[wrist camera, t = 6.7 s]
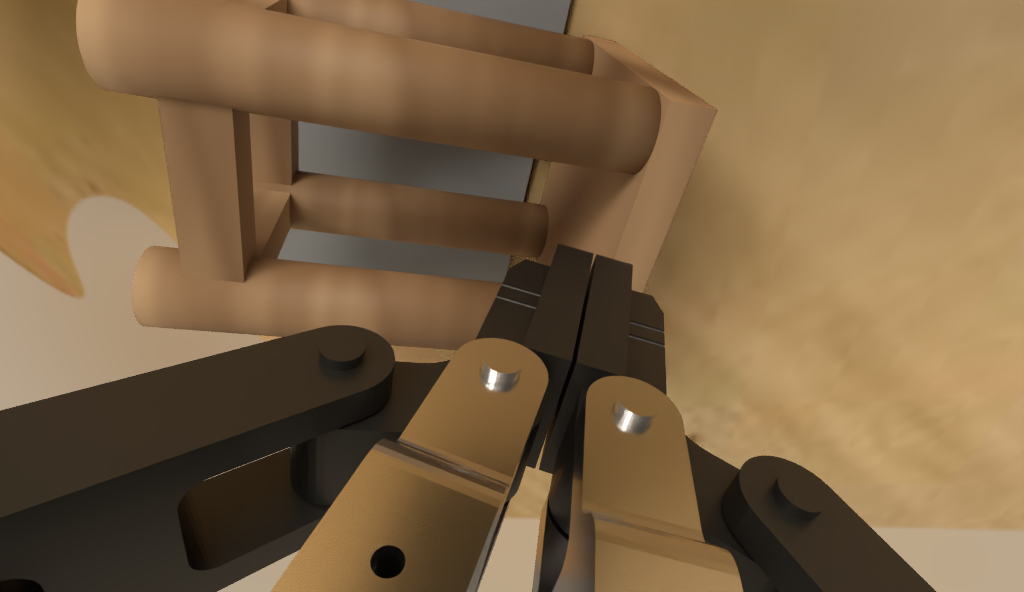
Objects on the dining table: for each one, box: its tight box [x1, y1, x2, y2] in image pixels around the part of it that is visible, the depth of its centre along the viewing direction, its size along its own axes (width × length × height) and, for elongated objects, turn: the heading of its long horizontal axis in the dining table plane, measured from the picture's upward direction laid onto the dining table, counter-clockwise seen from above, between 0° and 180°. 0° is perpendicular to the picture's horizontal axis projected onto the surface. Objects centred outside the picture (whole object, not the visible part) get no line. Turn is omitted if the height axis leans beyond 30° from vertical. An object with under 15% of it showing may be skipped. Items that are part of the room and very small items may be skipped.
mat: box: [277, 0, 572, 283], centre depth 19 cm, size 14×16×1 cm
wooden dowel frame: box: [76, 0, 717, 350], centre depth 14 cm, size 7×7×11 cm
